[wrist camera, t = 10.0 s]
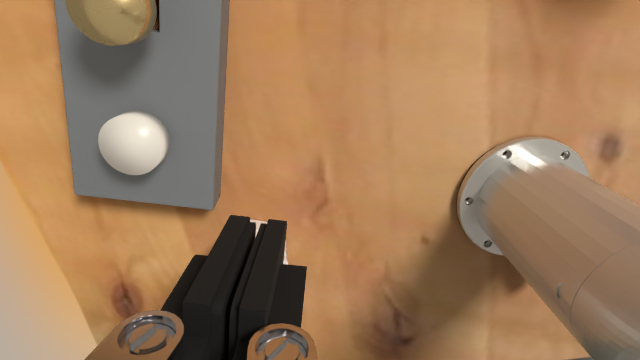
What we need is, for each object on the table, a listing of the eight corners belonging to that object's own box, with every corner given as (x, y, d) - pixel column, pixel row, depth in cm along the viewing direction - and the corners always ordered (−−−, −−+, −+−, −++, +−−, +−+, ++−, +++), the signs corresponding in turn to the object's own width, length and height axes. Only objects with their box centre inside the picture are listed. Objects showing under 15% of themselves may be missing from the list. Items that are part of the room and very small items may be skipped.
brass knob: (171, -23, 27) (143, -34, 23) (171, 46, 29) (145, 50, 25) (102, -35, 27) (59, -47, 22) (107, 37, 29) (68, 39, 24)
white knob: (181, 107, 34) (161, 120, 29) (181, 158, 35) (162, 178, 31) (125, 99, 33) (95, 111, 28) (128, 151, 35) (100, 171, 30)
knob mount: (241, -237, 25) (232, -269, 23) (220, 196, 37) (212, 210, 34) (53, -275, 25) (21, -313, 22) (92, 181, 36) (75, 194, 34)
